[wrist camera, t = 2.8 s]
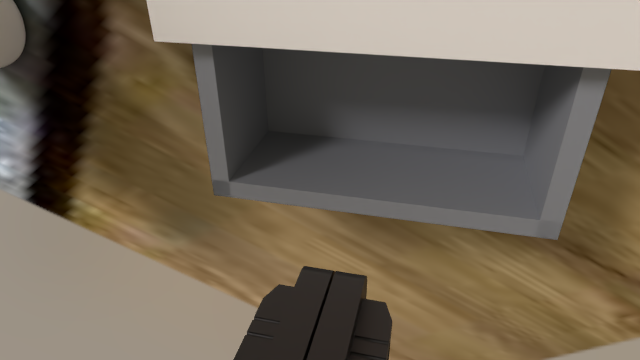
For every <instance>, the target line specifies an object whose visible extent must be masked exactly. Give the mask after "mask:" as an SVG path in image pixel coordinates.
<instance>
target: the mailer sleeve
mask: <svg viewBox="0 0 640 360" xmlns="http://www.w3.org/2000/svg"><path fill="white" fill-rule="evenodd" d="M147 6H148V11H149V16H150V22H151V27H152V32H153V38H154V41H158V42H174V43H191V44H208V45H224V46H241V47H257V48H274V49H291V50H307V51H324V52H340V53H357V54H373V55H390V56H407V57H423V58H440V59H456V60H473V61H489V62H506V63H523V64H539V65H556V66H572V67H589V68H605V69H622V70H639V71H640V0H147Z"/></svg>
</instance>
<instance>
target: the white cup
mask: <svg viewBox="0 0 640 360" xmlns="http://www.w3.org/2000/svg"><path fill="white" fill-rule="evenodd" d="M25 41H26V32H25V26H24V22H23V18H22V16H21V13H20V11H19V9H18V7H17V5H16V4H15V2H14V1H13V0H0V68H3V67H5V66H8V65H10V64H12V63H13V62H15V61H16V60H17V59H18V58H19V56H20V55H21V54H22V52H23V49H24V46H25Z"/></svg>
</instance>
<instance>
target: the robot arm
mask: <svg viewBox="0 0 640 360" xmlns="http://www.w3.org/2000/svg"><path fill="white" fill-rule="evenodd" d="M366 292H367V276H363V275H357V274H351V273H345V272H339V271H336V272H335V271H332V270H325V269H319V268H313V267H307V266H304V267H303V268H302V270H301V272H300V275H299V277H298V280H297V282H296V284H295V287H291V286H285V285H280V284H279V285H278V286H277V287H275V288H274V289H273V290H272V291H271V292H270V293H269V294H268V295H266V296H265V297H264V298H263V300H262V302H261V304H260V306H259V308H258V310H257V312H256V314H255V317H254V320H252V323H251V325H250V327H249V329H248V331H247V335H245V337H244V339H243V341H242V343H241V345H240V348H239V349H238V352H237V354H236V356H235V358H234V360H389V349H390V339H391V329H392V319H391V316H390V314H389V311H388V308H387V305H386V303H385V302H379V301H374V300H368V299H366Z"/></svg>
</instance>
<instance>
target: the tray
mask: <svg viewBox="0 0 640 360" xmlns="http://www.w3.org/2000/svg"><path fill="white" fill-rule="evenodd" d="M192 49H193V56H194V63H195V70H196V76H197V83H198V90H199V97H200V103H201V110H202V117H203V124H204V130H205V137H206V144H207V151H208V157H209V164H210V171H211V178H212V184H213V191H214V195H218V196H225V197H233V198H241V199H248V200H256V201H264V202H271V203H279V204H286V205H294V206H302V207H309V208H317V209H325V210H332V211H340V212H348V213H355V214H363V215H371V216H378V217H386V218H393V219H401V220H409V221H416V222H424V223H432V224H439V225H447V226H455V227H462V228H470V229H478V230H485V231H493V232H501V233H508V234H516V235H523V236H531V237H539V238H546V239H554V240H558V237H559V234H560V230H561V227H562V224H563V221H564V218H565V215H566V211H567V208H568V205H569V202H570V199H571V196H572V192H573V189H574V186H575V183H576V180H577V177H578V173H579V170H580V167H581V164H582V161H583V158H584V154H585V151H586V148H587V145H588V142H589V139H590V135H591V132H592V129H593V126H594V123H595V120H596V116H597V113H598V110H599V107H600V104H601V101H602V97H603V94H604V91H605V88H606V85H607V82H608V78H609V75H610V72H611V69H605V68H589V67H572V66H556V65H539V64H523V63H506V62H489V61H473V60H456V59H440V58H423V57H407V56H390V55H373V54H357V53H340V52H324V51H307V50H291V49H274V48H257V47H241V46H224V45H208V44H192Z"/></svg>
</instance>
